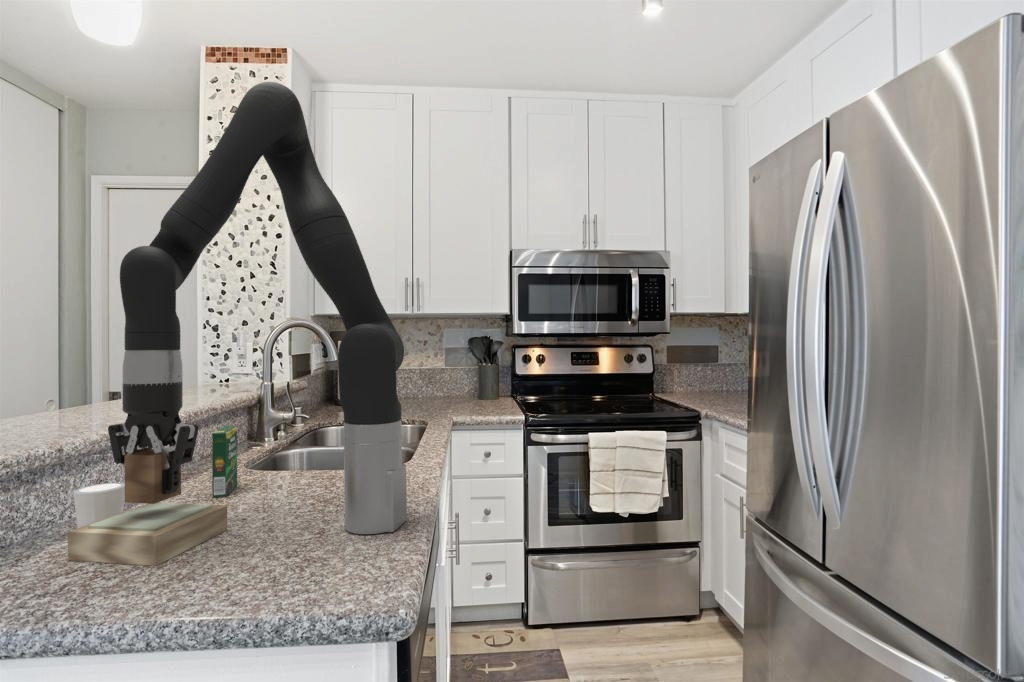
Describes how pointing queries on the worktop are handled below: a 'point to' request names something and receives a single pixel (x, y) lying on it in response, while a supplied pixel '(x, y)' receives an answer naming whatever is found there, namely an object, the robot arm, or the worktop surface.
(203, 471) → the worktop surface
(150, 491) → the walnut block
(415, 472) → the worktop surface
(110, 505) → the white cup
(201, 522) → the plinth
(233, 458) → the coffee box
